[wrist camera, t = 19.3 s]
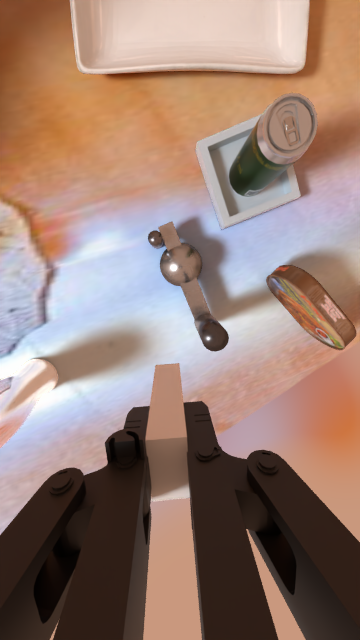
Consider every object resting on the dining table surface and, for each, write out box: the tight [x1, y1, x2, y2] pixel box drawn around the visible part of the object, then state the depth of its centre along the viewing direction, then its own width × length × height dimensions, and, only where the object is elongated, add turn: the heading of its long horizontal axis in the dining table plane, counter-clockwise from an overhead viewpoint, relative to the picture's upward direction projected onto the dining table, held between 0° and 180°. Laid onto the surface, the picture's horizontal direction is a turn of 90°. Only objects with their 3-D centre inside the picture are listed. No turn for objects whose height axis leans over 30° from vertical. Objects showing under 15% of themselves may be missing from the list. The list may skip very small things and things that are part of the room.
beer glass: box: [0, 359, 58, 448], centre depth 31 cm, size 7×7×15 cm
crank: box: [158, 222, 229, 351], centre depth 29 cm, size 16×5×9 cm, turn 23°
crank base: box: [148, 231, 202, 286], centre depth 34 cm, size 19×6×5 cm, turn 21°
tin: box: [266, 265, 356, 350], centre depth 33 cm, size 15×3×8 cm, turn 44°
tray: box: [195, 114, 301, 230], centre depth 32 cm, size 11×11×2 cm
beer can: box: [229, 93, 318, 197], centre depth 26 cm, size 5×5×12 cm
